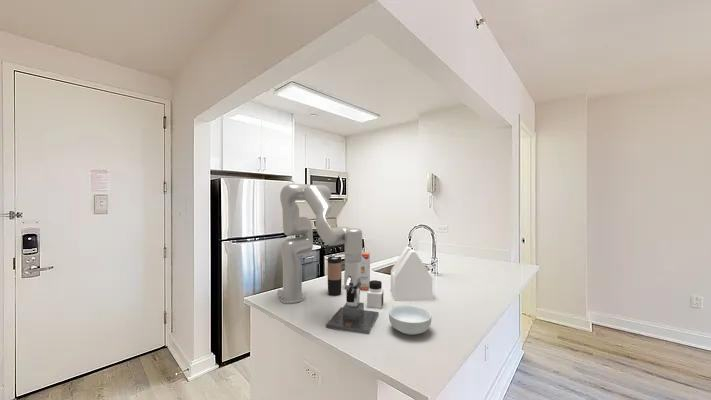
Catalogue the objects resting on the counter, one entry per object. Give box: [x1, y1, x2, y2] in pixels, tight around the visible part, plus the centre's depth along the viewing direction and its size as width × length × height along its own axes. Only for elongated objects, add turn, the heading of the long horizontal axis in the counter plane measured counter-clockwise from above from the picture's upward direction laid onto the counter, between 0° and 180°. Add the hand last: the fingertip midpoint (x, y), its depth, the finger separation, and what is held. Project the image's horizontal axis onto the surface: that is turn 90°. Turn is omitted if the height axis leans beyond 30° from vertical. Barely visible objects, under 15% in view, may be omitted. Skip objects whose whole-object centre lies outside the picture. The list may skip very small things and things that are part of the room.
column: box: [346, 282, 361, 308], centre depth 120 cm, size 5×5×14 cm
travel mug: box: [327, 255, 343, 297], centre depth 154 cm, size 8×8×20 cm
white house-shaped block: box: [390, 246, 433, 302], centre depth 152 cm, size 19×15×25 cm
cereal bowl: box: [388, 304, 433, 336], centre depth 112 cm, size 17×17×7 cm
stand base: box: [325, 302, 380, 335], centre depth 120 cm, size 18×18×7 cm
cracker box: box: [344, 251, 371, 291], centre depth 163 cm, size 14×6×21 cm, turn 81°
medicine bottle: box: [366, 279, 384, 309], centre depth 138 cm, size 7×7×12 cm
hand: (353, 298), depth 120 cm, fingers open, 8 cm apart
